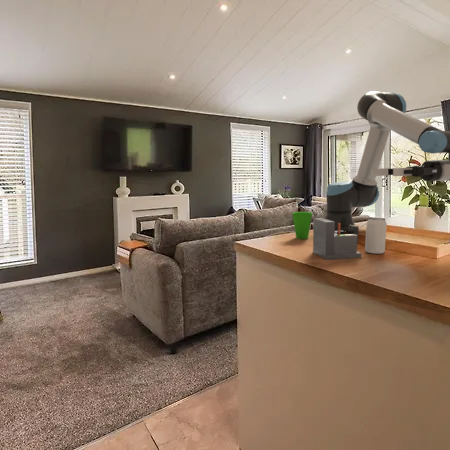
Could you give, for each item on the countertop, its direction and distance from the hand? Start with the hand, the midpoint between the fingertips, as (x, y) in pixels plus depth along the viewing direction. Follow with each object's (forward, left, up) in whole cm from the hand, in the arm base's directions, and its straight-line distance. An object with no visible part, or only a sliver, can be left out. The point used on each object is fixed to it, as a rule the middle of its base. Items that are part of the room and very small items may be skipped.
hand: (382, 172), depth 125 cm
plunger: (+17, -5, -25) cm, 30 cm away
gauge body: (+18, -7, -28) cm, 34 cm away
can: (+6, +1, -28) cm, 29 cm away
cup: (-1, -34, -28) cm, 44 cm away
